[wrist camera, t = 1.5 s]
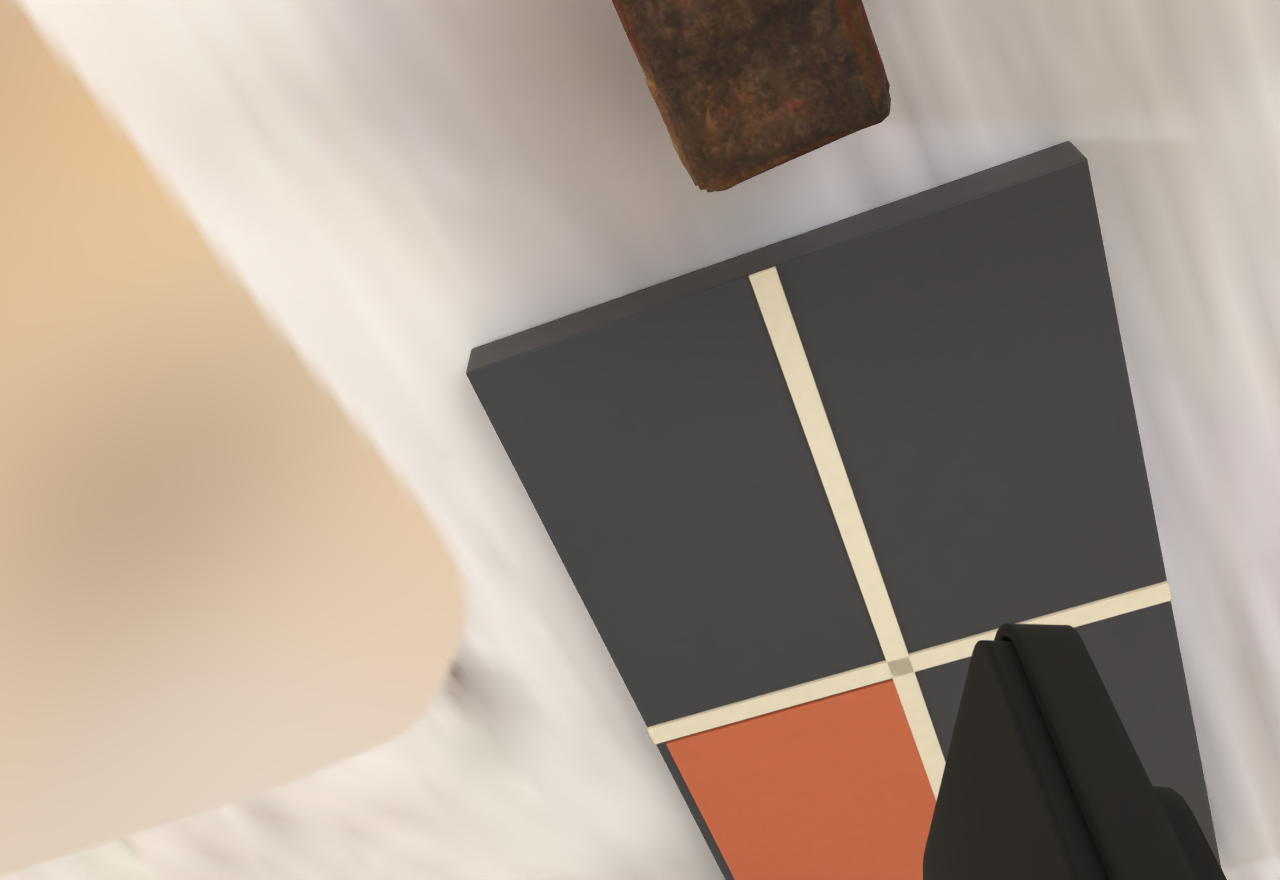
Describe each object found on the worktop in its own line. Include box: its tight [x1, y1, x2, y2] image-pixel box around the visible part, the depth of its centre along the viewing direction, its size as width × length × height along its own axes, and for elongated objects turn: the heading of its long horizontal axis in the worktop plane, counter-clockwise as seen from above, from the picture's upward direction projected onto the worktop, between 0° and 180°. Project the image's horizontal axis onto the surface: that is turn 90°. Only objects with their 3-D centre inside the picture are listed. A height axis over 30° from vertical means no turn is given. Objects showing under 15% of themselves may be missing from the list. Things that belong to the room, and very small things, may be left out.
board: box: [466, 141, 1221, 880], centre depth 33 cm, size 14×24×1 cm, turn 21°
